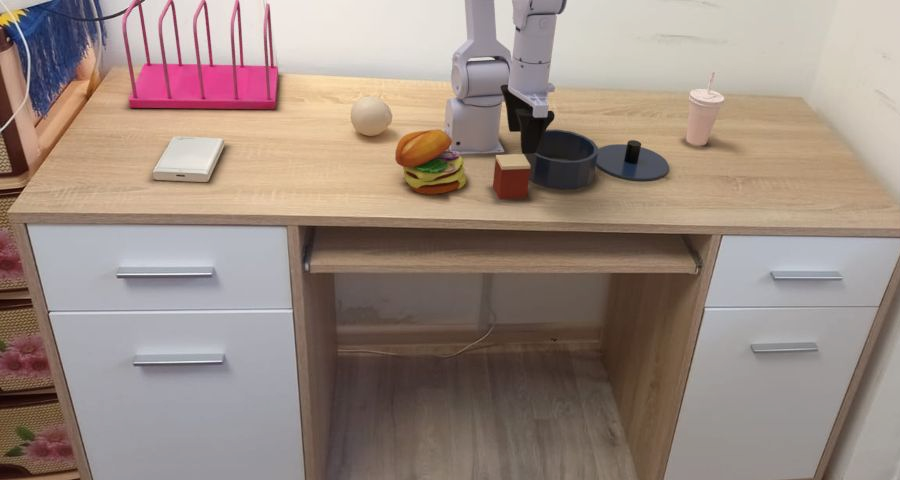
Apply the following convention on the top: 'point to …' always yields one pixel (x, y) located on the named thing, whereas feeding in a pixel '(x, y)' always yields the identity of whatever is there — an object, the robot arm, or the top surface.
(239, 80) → the file sorter
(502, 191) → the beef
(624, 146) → the pot lid
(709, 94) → the smoothie
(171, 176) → the hard drive
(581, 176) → the pot
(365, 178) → the top surface
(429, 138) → the cheeseburger
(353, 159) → the top surface
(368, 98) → the cream ball
